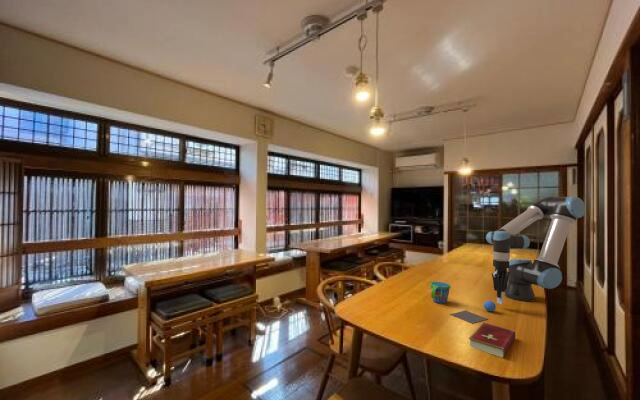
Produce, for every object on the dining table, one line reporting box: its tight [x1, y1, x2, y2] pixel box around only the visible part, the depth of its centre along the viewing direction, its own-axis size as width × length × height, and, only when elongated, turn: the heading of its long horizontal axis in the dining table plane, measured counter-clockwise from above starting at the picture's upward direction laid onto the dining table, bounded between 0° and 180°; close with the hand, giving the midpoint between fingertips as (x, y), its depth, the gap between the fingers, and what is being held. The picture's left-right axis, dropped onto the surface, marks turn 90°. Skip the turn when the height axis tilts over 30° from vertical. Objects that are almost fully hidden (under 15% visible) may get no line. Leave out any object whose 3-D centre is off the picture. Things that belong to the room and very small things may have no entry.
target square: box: [449, 310, 489, 325], centre depth 142 cm, size 12×12×1 cm
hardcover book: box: [468, 321, 516, 359], centre depth 116 cm, size 12×21×4 cm, turn 136°
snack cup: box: [429, 281, 451, 305], centre depth 163 cm, size 16×10×10 cm
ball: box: [483, 300, 497, 312], centre depth 149 cm, size 6×6×6 cm
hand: (500, 303), depth 154 cm, fingers closed
